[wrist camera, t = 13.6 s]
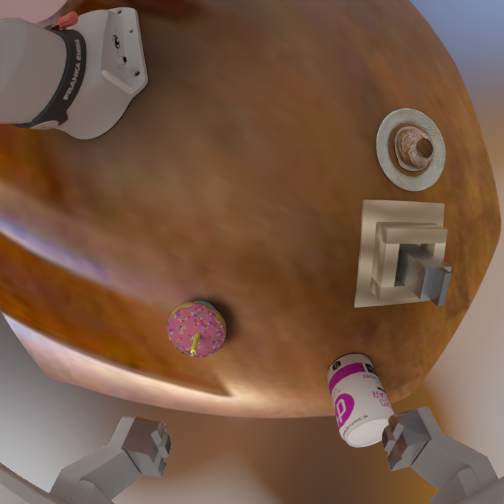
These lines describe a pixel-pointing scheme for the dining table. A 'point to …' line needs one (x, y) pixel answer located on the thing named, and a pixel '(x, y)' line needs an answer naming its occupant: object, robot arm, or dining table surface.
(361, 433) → the supplement can
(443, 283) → the grey long block
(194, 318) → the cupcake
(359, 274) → the well
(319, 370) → the dining table surface
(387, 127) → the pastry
